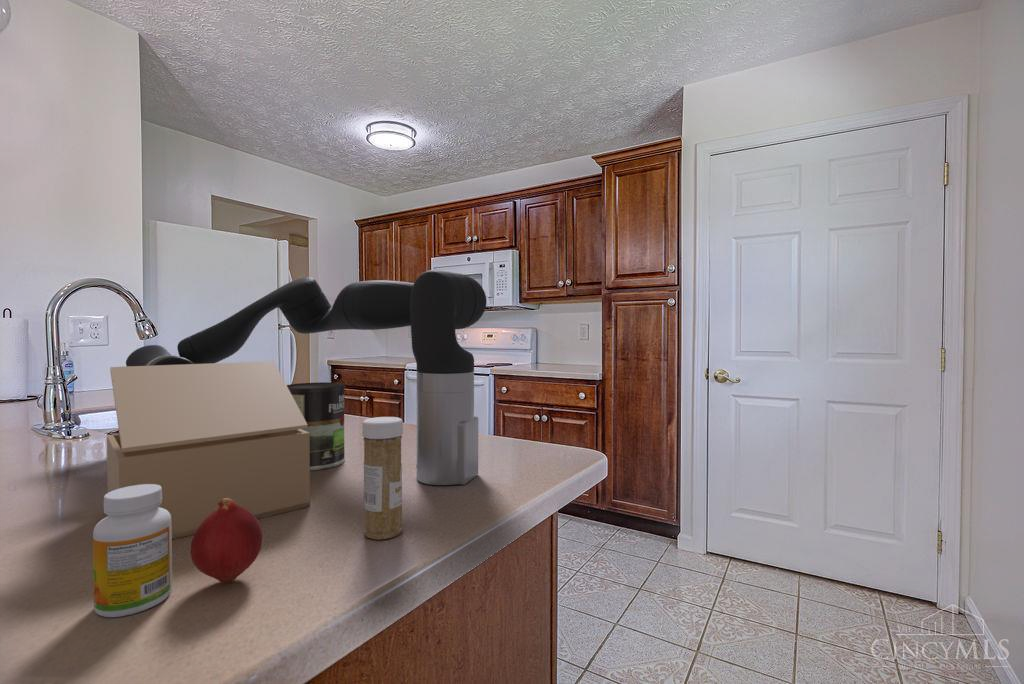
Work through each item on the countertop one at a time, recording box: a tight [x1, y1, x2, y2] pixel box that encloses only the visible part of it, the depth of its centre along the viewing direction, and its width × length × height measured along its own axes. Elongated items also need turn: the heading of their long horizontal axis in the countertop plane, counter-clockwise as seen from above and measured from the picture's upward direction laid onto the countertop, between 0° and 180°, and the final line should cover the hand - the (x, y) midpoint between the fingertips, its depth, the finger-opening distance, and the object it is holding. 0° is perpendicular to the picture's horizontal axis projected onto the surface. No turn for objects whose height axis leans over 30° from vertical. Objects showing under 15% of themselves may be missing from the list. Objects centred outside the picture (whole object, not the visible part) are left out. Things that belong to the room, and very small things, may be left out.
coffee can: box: [286, 381, 346, 471], centre depth 87 cm, size 10×10×14 cm
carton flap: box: [109, 360, 308, 453], centre depth 63 cm, size 16×19×1 cm
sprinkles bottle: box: [362, 416, 404, 541], centre depth 57 cm, size 5×5×13 cm
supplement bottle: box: [92, 484, 173, 618], centre depth 42 cm, size 5×5×10 cm
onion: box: [189, 498, 264, 584], centre depth 46 cm, size 6×6×8 cm
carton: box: [106, 429, 311, 541], centre depth 64 cm, size 16×20×10 cm
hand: (189, 384), depth 73 cm, fingers closed
